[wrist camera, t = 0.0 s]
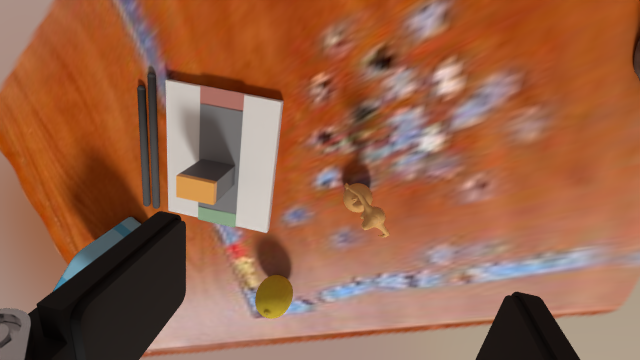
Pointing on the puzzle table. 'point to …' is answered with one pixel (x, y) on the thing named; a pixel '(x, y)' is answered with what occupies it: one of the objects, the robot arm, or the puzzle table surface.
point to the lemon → (274, 296)
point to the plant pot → (637, 60)
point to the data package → (98, 248)
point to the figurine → (364, 207)
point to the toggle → (205, 181)
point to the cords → (153, 141)
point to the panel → (224, 150)
